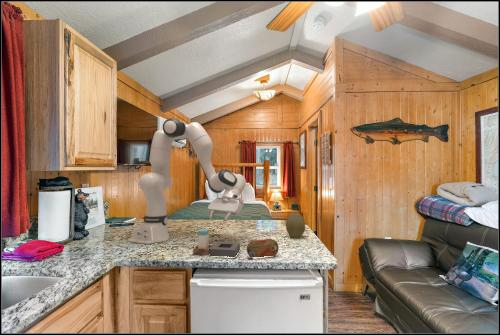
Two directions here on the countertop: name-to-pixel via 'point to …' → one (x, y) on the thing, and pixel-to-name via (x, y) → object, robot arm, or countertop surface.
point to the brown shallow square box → (201, 251)
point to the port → (225, 249)
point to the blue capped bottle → (203, 239)
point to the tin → (262, 248)
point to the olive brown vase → (295, 225)
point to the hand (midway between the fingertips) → (217, 219)
